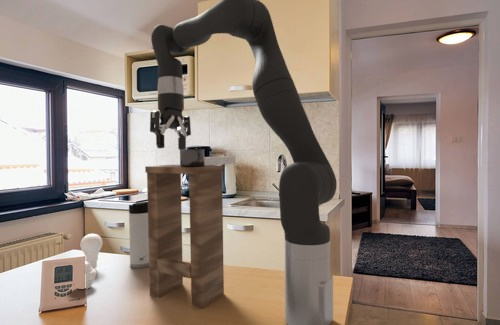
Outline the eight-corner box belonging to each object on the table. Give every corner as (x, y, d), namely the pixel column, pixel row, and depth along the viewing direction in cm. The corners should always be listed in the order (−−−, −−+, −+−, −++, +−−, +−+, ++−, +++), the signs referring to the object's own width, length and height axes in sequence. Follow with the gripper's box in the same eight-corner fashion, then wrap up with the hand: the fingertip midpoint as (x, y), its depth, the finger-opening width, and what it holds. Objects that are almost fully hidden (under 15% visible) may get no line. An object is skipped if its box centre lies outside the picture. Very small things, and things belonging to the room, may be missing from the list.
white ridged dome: (99, 282, 95) (99, 257, 95) (92, 291, 89) (91, 264, 89) (76, 283, 94) (75, 258, 94) (66, 293, 88) (65, 265, 88)
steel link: (239, 163, 95) (239, 148, 95) (194, 167, 78) (194, 149, 78) (222, 163, 98) (222, 149, 98) (175, 167, 80) (174, 149, 80)
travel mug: (146, 268, 105) (144, 203, 105) (126, 267, 107) (124, 202, 106) (155, 262, 112) (154, 200, 111) (136, 261, 113) (135, 199, 112)
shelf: (224, 293, 87) (223, 165, 86) (200, 309, 78) (198, 167, 77) (175, 282, 95) (173, 164, 93) (148, 295, 86) (145, 166, 85)
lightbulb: (107, 268, 106) (106, 232, 106) (89, 274, 101) (87, 237, 101) (95, 265, 109) (94, 230, 109) (76, 271, 104) (75, 234, 104)
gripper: (161, 87, 95) (162, 147, 95) (196, 96, 107) (197, 149, 107) (143, 91, 99) (144, 148, 99) (178, 100, 111) (179, 150, 111)
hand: (171, 149), depth 103 cm, fingers open, 8 cm apart
